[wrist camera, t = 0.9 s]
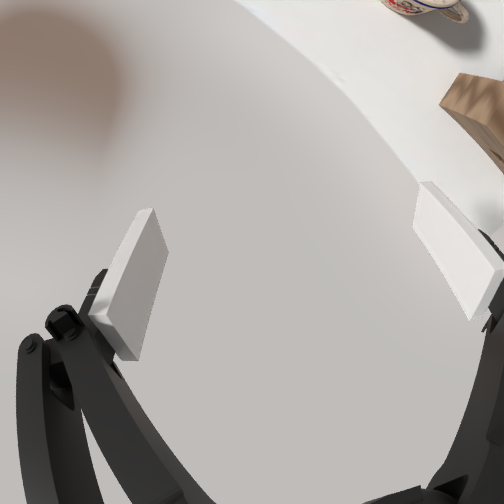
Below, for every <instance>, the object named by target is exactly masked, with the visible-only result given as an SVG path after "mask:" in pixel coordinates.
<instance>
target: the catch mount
mask: <svg viewBox="0 0 504 504" xmlns="http://www.w3.org/2000/svg"><path fill="white" fill-rule="evenodd" d="M439 105H440V106H441V107H442V108H443V109H444V110H445V111H446V112H447V113H448V114H449V115H450V116H451V117H452V118H453V119H455V120H456V121H457V122H458V123H459V124H460V125H461V126H462V127H463V128H464V129H465V130H466V132H467V133H468V134H469V135H470V136H471V137H472V138H473V139H474V140H475V141H476V142H477V143H478V144H479V145H480V147H481V148H482V149H483V150H484V151H485V152H486V153H487V154H488V156H489V157H490V158H491V159H492V160H493V161H494V163H495V164H496V165H497V166H498V167H499V169H500V170H501V171H502V172H503V174H504V82H502V81H498V80H493V79H489V78H484V77H479V76H474V75H469V74H463V73H459V75H458V76H457V78H456V79H455V81H454V83H453V84H452V86H451V87H450V89H449V90H448V92H447V93H446V95H445V96H444V98H443V99H442V101H441V102H440V104H439Z"/></svg>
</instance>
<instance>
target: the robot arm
mask: <svg viewBox="0 0 504 504" xmlns="http://www.w3.org/2000/svg"><path fill="white" fill-rule="evenodd" d="M412 228H413V229H414V231H415V232H416V234H417V235H418V237H419V238H420V240H421V241H422V243H423V244H424V245H425V247H426V249H427V250H428V252H429V253H430V255H431V256H432V258H433V259H434V261H435V262H436V264H437V266H438V267H439V269H440V271H441V272H442V274H443V276H444V277H445V279H446V280H447V282H448V284H449V286H450V287H451V289H452V291H453V292H454V294H455V296H456V298H457V299H458V301H459V303H460V305H461V307H462V308H463V310H464V312H465V314H466V316H467V318H468V320H469V321H473V320H477V319H480V318H483V316H484V314H485V312H486V311H487V309H488V308H489V310H490V312H491V313H492V314H491V316H490V317H489V319H488V321H487V323H486V324H485V326H484V327H483V329H482V331H481V332H484V331H485V329H486V328H487V331H486V336H485V341H484V346H483V350H482V355H481V359H480V363H479V367H478V371H477V375H476V378H475V382H474V385H473V389H472V392H471V395H470V398H469V402H468V405H467V408H466V411H465V413H464V416H463V419H462V422H461V424H460V427H459V430H458V432H457V435H456V437H455V440H454V442H453V444H452V447H451V449H450V451H449V454H448V456H447V458H446V460H445V462H444V464H443V465H442V466H441V468H440V469H439V470H438V471H437V472H436V474H435V475H434V476H433V478H432V479H431V481H430V483H429V484H428V486H427V488H426V489H421V486H420V485H419V486H416V487H413V488H410V489H407V490H404V491H400V492H397V493H394V494H390V495H387V496H384V497H381V498H377V499H374V500H371V501H368V502H365V503H363V504H504V254H503V253H502V252H501V251H499V248H498V247H497V246H496V245H494V242H493V241H492V240H491V239H490V237H489V236H488V235H487V234H485V233H484V232H482V231H481V230H480V229H477V228H476V227H475V226H474V225H473V224H472V223H471V221H470V220H469V219H468V218H467V217H466V216H465V215H464V214H463V213H462V212H461V210H460V209H459V208H458V207H457V206H456V205H455V204H454V203H453V202H452V201H451V200H450V199H449V198H448V197H447V196H446V195H445V194H444V193H443V192H442V191H441V190H440V189H439V188H438V187H437V186H436V185H435V184H434V183H433V182H420V185H419V192H418V198H417V205H416V210H415V215H414V220H413V226H412ZM168 253H169V252H168V249H167V246H166V244H165V241H164V238H163V235H162V232H161V229H160V226H159V223H158V220H157V217H156V214H155V212H154V209H153V208H150V209H144V210H139V212H138V213H137V215H136V217H135V219H134V221H133V223H132V224H131V226H130V228H129V230H128V232H127V234H126V236H125V238H124V240H123V242H122V243H121V245H120V247H119V249H118V251H117V253H116V255H115V257H114V259H113V261H112V263H111V266H110V267H109V269H103V270H102V271H101V272H100V273H99V274H98V275H97V276H96V277H95V279H94V281H93V283H92V285H91V289H89V291H88V293H87V296H86V298H85V300H84V302H83V304H82V306H81V309H80V311H79V313H78V314H77V313H76V311H75V310H74V309H73V307H72V306H71V305H61V306H59V307H57V308H55V309H54V310H53V311H52V312H51V313H50V314H49V316H48V317H47V319H46V322H45V328H46V329H47V330H48V332H49V333H50V334H51V335H52V337H53V338H52V339H49V340H46V341H44V340H43V338H42V337H41V336H40V335H39V334H36V333H34V334H30V335H29V336H27V337H26V338H25V339H24V340H23V341H22V342H21V344H20V346H19V350H18V360H17V361H18V362H17V380H16V382H17V383H16V418H17V435H18V448H19V458H20V466H21V473H22V479H23V486H24V491H25V496H26V501H27V504H104V502H103V499H102V496H101V492H100V489H99V486H98V482H97V479H96V476H95V472H94V468H93V464H92V460H91V456H90V452H89V448H88V443H87V439H86V434H85V429H84V424H83V418H82V413H81V409H82V411H83V414H84V416H85V418H86V421H87V423H88V425H89V427H90V429H91V431H92V433H93V435H94V437H95V440H96V442H97V444H98V446H99V447H100V449H101V451H102V453H103V455H104V457H105V459H106V461H107V463H108V464H109V466H110V468H111V470H112V471H113V473H114V475H115V477H116V478H117V480H118V482H119V483H120V485H121V487H122V488H123V490H124V492H125V493H126V494H127V496H128V498H129V499H130V501H131V502H132V504H216V503H215V502H213V500H211V499H210V497H209V496H208V495H207V494H206V493H205V492H204V491H203V490H202V488H201V487H200V486H199V485H198V484H197V483H196V481H195V480H194V479H193V478H192V477H191V475H190V474H189V473H188V472H187V470H186V469H185V468H184V467H183V465H182V464H181V463H180V462H179V460H178V459H177V458H176V456H175V455H174V454H173V452H172V451H171V450H170V448H169V447H168V446H167V444H166V443H165V441H164V440H163V439H162V437H161V436H160V434H159V433H158V431H157V430H156V429H155V427H154V426H153V424H152V423H151V421H150V420H149V418H148V417H147V415H146V414H145V412H144V411H143V409H142V408H141V406H140V404H139V403H138V401H137V400H136V398H135V397H134V395H133V393H132V391H131V390H130V388H129V386H128V385H127V383H126V381H125V379H124V378H123V376H122V374H121V372H120V371H119V369H118V367H117V365H116V364H115V363H114V361H113V358H114V354H115V353H116V354H117V355H118V356H119V358H120V359H121V360H123V361H139V357H140V353H141V348H142V345H143V341H144V337H145V333H146V329H147V325H148V321H149V318H150V314H151V311H152V307H153V303H154V300H155V296H156V293H157V289H158V286H159V283H160V279H161V276H162V273H163V269H164V266H165V263H166V260H167V256H168Z"/></svg>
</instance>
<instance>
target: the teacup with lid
mask: <svg viewBox="0 0 504 504" xmlns="http://www.w3.org/2000/svg"><path fill="white" fill-rule="evenodd" d="M380 1H381V2H382V3H383V4H384V5H385V6H387V7H388V8H390V9H391V10H393V11H395V12H398V13H401V14H405V15H419V14H422V13H425V12H429V11H432V10H435V9H436V10H437V11H438V12H440V13H441V14H442V15H443V16H445V17H446V18H448V19H450V20H452V21H454V22H457V23H466V22H467V21H468V20H469V14H468V12H467V10H466V9H465V7H464V6H463V5H462V4H461V3H460V2H459V1H460V0H380ZM450 7H453V8H454V9H455V10H456V11H457V12H458V13H459V14H460V15H458V14H456V13H453V12H452V11H450V10H448V9H447V8H450Z"/></svg>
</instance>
